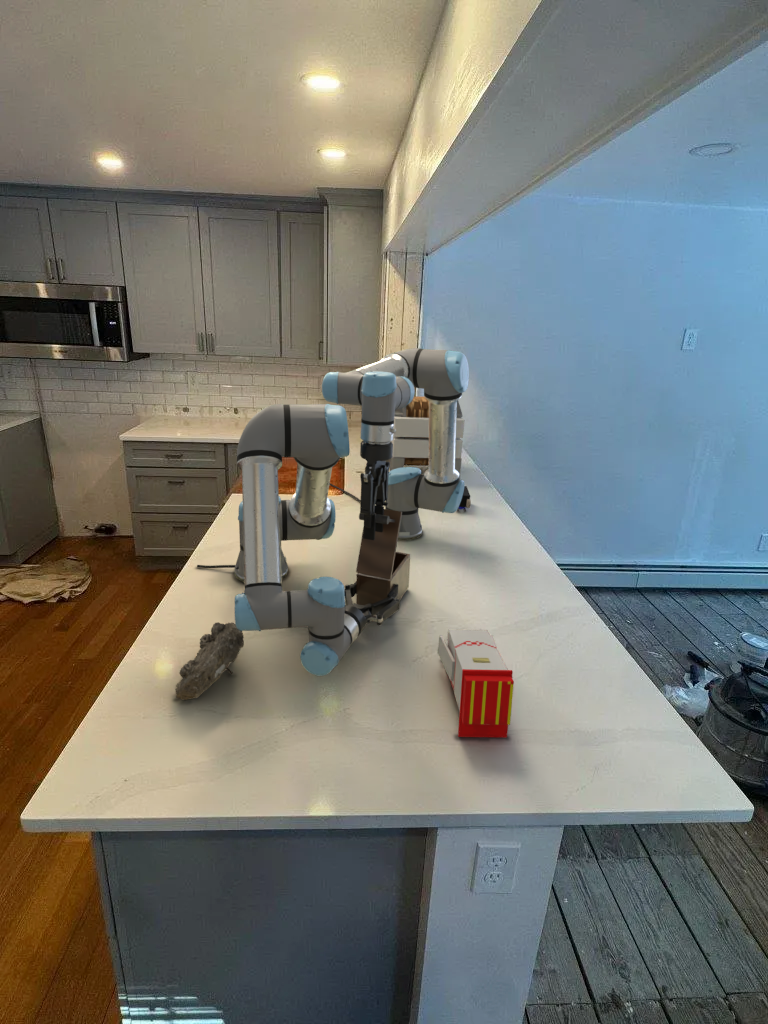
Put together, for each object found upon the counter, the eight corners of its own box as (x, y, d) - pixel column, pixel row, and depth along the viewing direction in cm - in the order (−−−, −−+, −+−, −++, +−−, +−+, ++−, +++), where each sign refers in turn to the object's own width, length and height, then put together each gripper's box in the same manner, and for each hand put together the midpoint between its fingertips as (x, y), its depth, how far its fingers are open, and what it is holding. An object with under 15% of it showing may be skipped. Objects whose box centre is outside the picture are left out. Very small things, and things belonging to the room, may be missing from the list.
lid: (368, 506, 145) (356, 504, 137) (402, 511, 142) (392, 509, 134) (357, 572, 145) (345, 573, 137) (391, 579, 142) (381, 581, 134)
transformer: (382, 463, 289) (386, 382, 275) (445, 464, 293) (451, 384, 279) (390, 482, 257) (394, 392, 243) (460, 483, 261) (468, 394, 247)
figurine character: (470, 516, 223) (465, 500, 237) (473, 499, 220) (467, 484, 233) (453, 516, 223) (449, 500, 236) (455, 498, 220) (451, 483, 233)
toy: (488, 613, 130) (523, 677, 101) (484, 667, 133) (517, 744, 104) (435, 612, 130) (455, 676, 101) (432, 666, 133) (451, 743, 103)
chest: (378, 580, 163) (379, 548, 159) (408, 587, 160) (410, 554, 156) (356, 609, 149) (356, 574, 145) (389, 616, 146) (390, 581, 142)
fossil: (197, 625, 130) (244, 594, 125) (226, 653, 133) (272, 624, 128) (153, 694, 111) (206, 661, 106) (188, 725, 114) (241, 695, 109)
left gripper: (301, 630, 133) (340, 589, 153) (389, 651, 127) (417, 606, 147) (301, 602, 131) (340, 564, 151) (390, 622, 124) (419, 580, 144)
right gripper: (378, 451, 121) (374, 551, 129) (404, 435, 137) (399, 525, 145) (346, 447, 123) (344, 545, 131) (375, 432, 139) (371, 520, 147)
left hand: (378, 585), depth 149 cm, fingers closed on chest, 9 cm apart
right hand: (373, 534), depth 138 cm, fingers open, 5 cm apart
